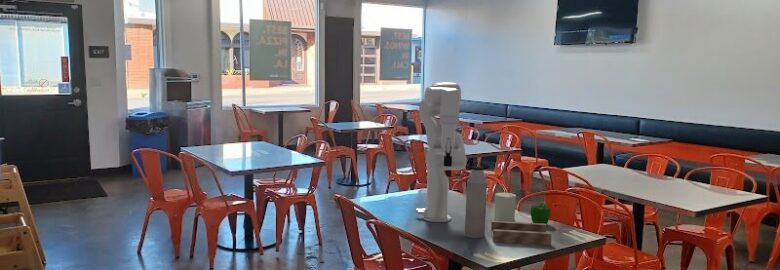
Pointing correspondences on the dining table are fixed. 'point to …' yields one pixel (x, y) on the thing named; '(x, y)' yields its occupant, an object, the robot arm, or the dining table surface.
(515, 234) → the bottle rest
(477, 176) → the thermos bottle
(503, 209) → the can
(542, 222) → the bell pepper
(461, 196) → the dining table surface
